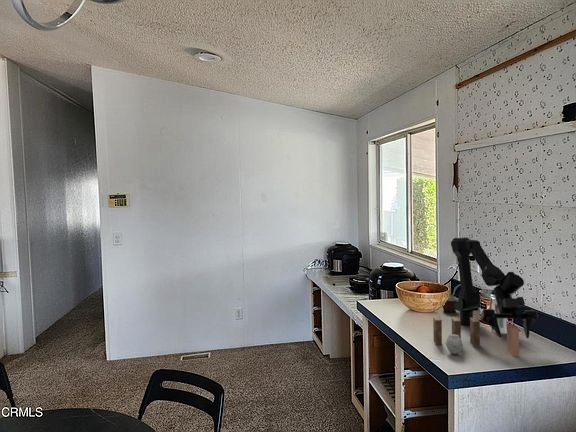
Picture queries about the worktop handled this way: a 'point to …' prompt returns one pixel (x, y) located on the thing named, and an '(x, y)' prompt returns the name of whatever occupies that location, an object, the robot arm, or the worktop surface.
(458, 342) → the grey faceted rock
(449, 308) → the mate gourd
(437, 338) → the domino
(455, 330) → the domino
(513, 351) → the loose domino
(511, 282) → the robot arm
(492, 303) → the beer glass
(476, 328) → the domino
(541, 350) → the worktop surface
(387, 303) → the worktop surface
